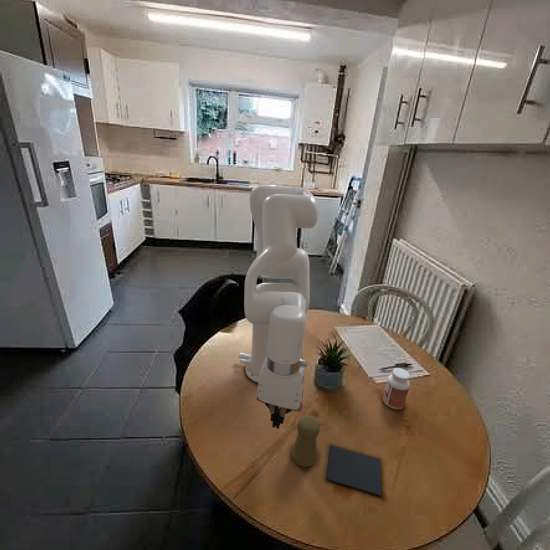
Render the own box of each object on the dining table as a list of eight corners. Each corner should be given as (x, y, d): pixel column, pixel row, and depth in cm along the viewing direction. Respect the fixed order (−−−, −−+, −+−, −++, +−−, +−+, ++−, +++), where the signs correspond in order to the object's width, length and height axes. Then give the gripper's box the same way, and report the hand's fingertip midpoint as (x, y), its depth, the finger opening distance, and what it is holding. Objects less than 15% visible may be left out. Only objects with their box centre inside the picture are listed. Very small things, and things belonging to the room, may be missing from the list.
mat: (326, 479, 70) (326, 478, 70) (330, 446, 78) (330, 445, 78) (381, 496, 68) (381, 495, 68) (379, 460, 76) (379, 459, 76)
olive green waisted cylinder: (290, 444, 78) (294, 411, 74) (313, 443, 79) (319, 411, 75) (293, 467, 73) (298, 433, 68) (318, 466, 73) (325, 432, 69)
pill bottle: (408, 405, 93) (417, 375, 89) (395, 413, 90) (404, 383, 86) (390, 392, 98) (398, 363, 94) (378, 399, 95) (385, 370, 91)
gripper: (319, 358, 69) (310, 419, 76) (256, 343, 72) (252, 404, 79) (315, 380, 62) (304, 445, 69) (245, 363, 65) (242, 427, 72)
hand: (276, 423), depth 74 cm, fingers closed
